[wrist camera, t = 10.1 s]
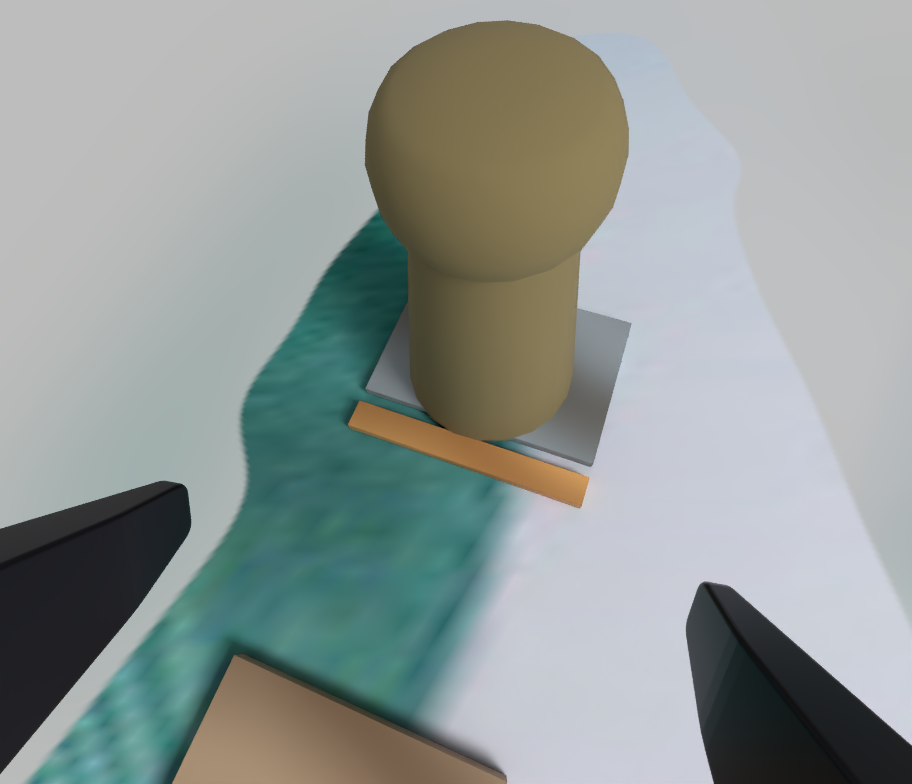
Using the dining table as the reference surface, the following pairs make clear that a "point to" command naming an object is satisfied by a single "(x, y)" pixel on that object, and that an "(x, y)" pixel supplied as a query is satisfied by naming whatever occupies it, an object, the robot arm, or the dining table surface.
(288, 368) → the dining table surface
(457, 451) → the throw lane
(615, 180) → the cork
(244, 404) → the dining table surface
